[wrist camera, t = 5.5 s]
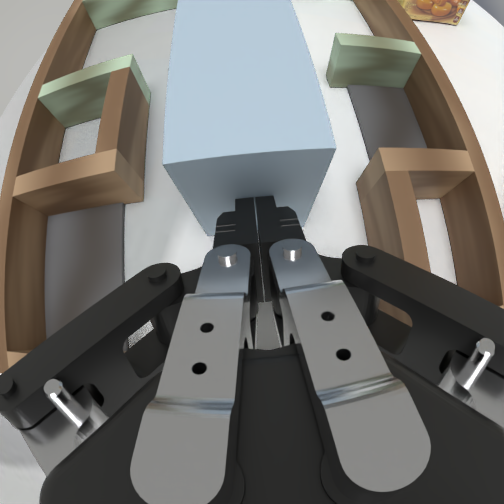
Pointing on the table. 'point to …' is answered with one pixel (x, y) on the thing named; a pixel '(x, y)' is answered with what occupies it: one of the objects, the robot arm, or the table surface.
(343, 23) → the table surface
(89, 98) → the frame
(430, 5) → the candy box
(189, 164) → the brick
